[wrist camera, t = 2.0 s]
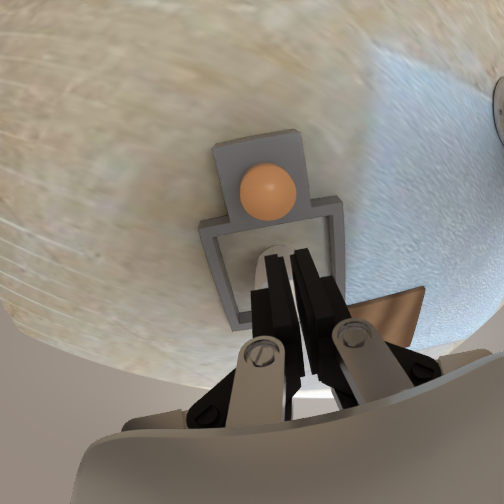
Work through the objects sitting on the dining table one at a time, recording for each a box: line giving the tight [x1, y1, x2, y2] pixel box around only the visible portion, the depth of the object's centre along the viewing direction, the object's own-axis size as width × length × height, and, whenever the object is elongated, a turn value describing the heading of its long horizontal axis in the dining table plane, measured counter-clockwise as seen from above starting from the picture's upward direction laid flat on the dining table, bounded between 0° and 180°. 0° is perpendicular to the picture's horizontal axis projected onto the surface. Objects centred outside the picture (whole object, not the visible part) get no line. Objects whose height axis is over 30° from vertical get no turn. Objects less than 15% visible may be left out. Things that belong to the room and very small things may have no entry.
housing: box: [198, 129, 345, 332], centre depth 30 cm, size 15×23×4 cm, turn 11°
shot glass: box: [254, 245, 300, 322], centre depth 31 cm, size 7×7×7 cm
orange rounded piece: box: [240, 162, 296, 221], centre depth 23 cm, size 4×4×4 cm
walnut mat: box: [347, 286, 425, 348], centre depth 40 cm, size 14×14×1 cm
